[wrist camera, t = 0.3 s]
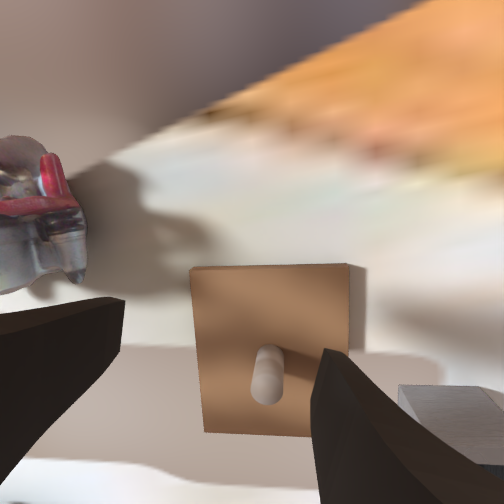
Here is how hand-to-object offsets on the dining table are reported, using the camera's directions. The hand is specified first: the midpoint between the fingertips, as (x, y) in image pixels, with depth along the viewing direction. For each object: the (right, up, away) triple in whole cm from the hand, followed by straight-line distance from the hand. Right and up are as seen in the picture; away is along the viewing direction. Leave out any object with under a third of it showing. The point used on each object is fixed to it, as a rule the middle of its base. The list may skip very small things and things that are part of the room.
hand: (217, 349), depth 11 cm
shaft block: (+3, -3, +10) cm, 11 cm away
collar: (+14, -8, +10) cm, 19 cm away
